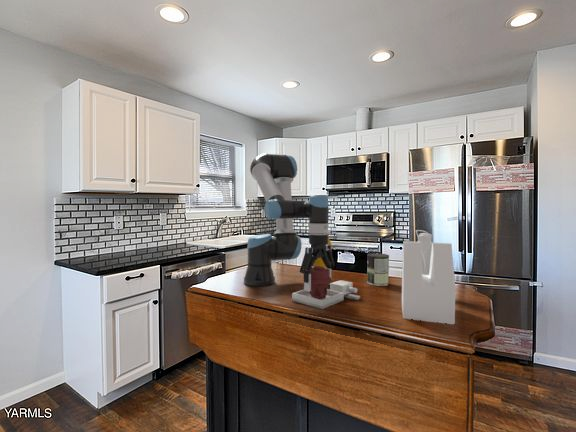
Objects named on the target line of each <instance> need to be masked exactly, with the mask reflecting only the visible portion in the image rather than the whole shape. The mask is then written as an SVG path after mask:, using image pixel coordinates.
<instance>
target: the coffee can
mask: <svg viewBox="0 0 576 432" xmlns="http://www.w3.org/2000/svg"><path fill="white" fill-rule="evenodd" d="M366 255H367V261H366V263H367V267H366V268H367V271H366V274H367V275H366V279H367V280H366V283H367V284H369V285H371V286H376V287H383V286H384V287H386V286H388V285H389V275H390V274H389V271H390V269H389V268H390V267H389V266H390V265H389V264H390V263H389V262H390V254H386V253H377V252H375V253H374V252H373V253H367V254H366Z"/></svg>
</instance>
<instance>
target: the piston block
mask: <svg viewBox="0 0 576 432" xmlns="http://www.w3.org/2000/svg"><path fill="white" fill-rule="evenodd" d="M353 283H354V282H352V281H348V280H342V279H339V280H337V281H333V282H331V285H329V290H334V291H338V292H343V293H344V295H345V294H348V293H349V294H353V293H354V294H357V293H358V288H357V287H353V285H354V284H353Z"/></svg>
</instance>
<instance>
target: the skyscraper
mask: <svg viewBox="0 0 576 432" xmlns="http://www.w3.org/2000/svg"><path fill="white" fill-rule="evenodd" d="M418 232H420V233H418ZM415 233H416V236H417V242H421V256H422V275H429V269H430V260H431V250H432V241H433V240H432V238H433V234H431V233H429V232H428V231H425V230H423V229H416V230H415Z"/></svg>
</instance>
